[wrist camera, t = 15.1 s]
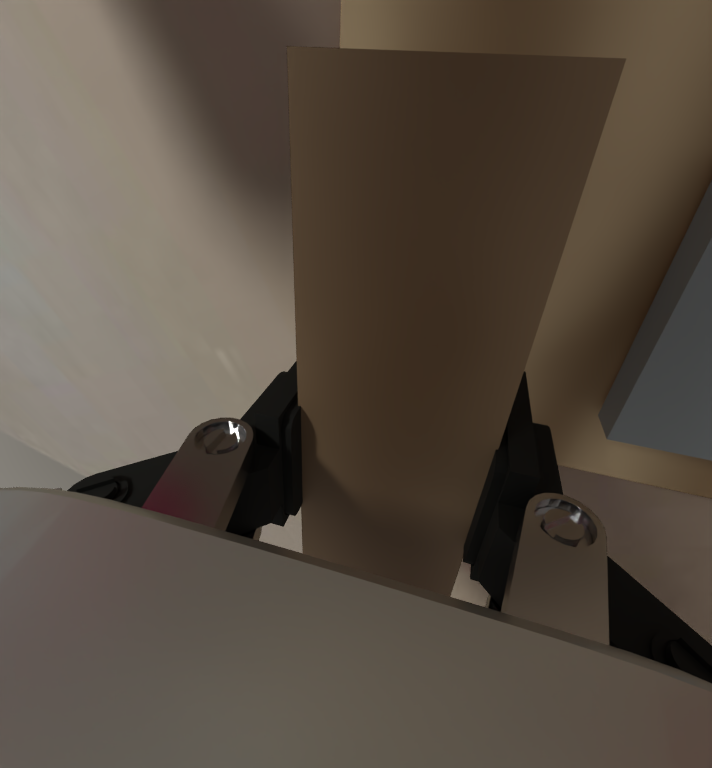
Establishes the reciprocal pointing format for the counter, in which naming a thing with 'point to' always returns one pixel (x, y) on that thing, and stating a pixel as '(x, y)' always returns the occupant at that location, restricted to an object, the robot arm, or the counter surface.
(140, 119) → the counter surface
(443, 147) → the walnut turner
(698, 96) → the cork mat
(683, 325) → the slate tile
